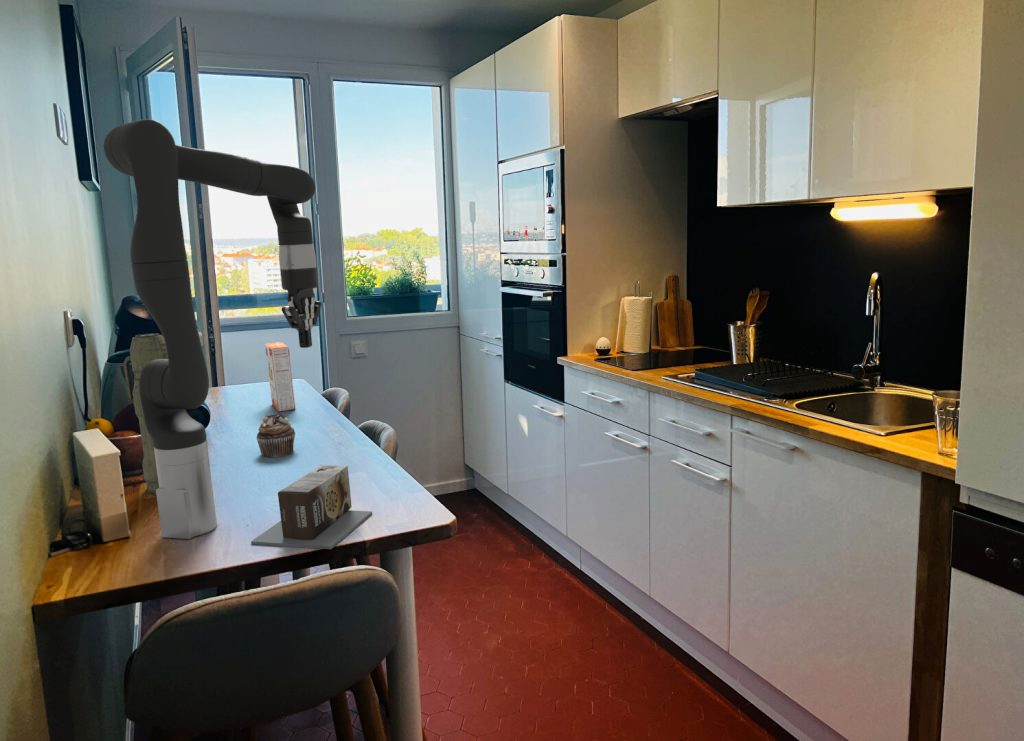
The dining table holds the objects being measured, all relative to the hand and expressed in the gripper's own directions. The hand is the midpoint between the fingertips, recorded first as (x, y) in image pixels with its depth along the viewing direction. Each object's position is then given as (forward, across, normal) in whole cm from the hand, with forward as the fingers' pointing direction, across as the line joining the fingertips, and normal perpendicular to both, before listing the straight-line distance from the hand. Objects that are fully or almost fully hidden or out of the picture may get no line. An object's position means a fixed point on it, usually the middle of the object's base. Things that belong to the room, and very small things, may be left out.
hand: (306, 347), depth 164 cm
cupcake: (+31, +22, +24) cm, 45 cm away
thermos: (+31, -6, +35) cm, 47 cm away
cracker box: (+31, +71, +52) cm, 93 cm away
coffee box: (+26, -14, -12) cm, 32 cm away
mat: (+31, -24, -12) cm, 41 cm away
